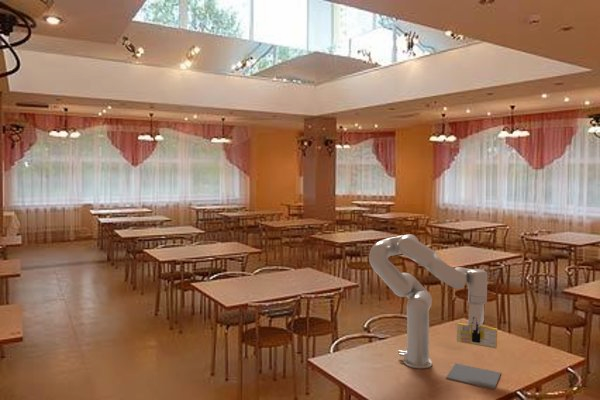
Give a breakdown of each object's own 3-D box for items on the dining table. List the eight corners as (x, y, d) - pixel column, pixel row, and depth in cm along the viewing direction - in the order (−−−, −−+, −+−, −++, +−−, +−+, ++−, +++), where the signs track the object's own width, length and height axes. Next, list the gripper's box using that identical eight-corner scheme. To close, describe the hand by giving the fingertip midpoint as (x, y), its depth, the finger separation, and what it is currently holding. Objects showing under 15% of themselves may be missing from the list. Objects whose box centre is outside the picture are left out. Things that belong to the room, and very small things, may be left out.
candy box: (497, 347, 197) (497, 328, 196) (496, 349, 195) (496, 329, 195) (457, 340, 205) (458, 321, 205) (456, 341, 204) (456, 323, 203)
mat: (445, 378, 195) (445, 377, 195) (455, 364, 210) (455, 363, 210) (494, 389, 185) (494, 388, 185) (500, 374, 200) (500, 372, 200)
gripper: (472, 293, 208) (471, 334, 209) (464, 301, 194) (463, 345, 195) (489, 295, 204) (489, 337, 205) (483, 304, 190) (482, 348, 191)
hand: (476, 340), depth 200 cm, fingers closed on candy box, 2 cm apart
